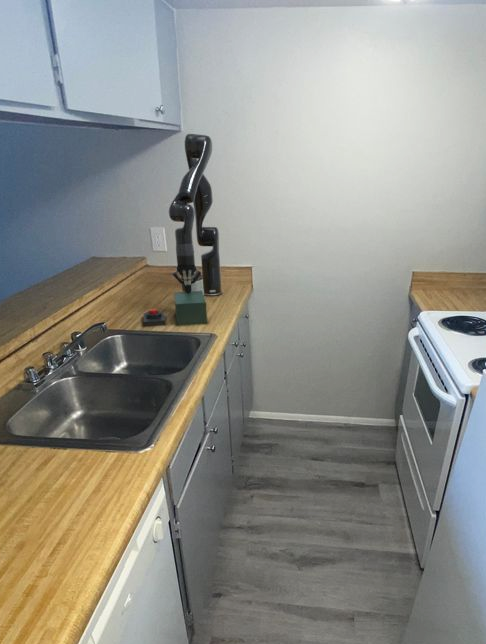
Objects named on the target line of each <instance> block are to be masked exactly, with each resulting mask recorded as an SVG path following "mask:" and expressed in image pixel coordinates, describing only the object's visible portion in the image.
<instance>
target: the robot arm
mask: <svg viewBox="0 0 486 644" xmlns="http://www.w3.org/2000/svg"><path fill="white" fill-rule="evenodd" d="M184 152H185V157H186V162H187V168H188V171H187V172H186V173H185V174H184V176H183V177H182V178H181V182H180V185H179V189H178V192H177V194H176V195H175V197H174V198H173V200H172V202H171V204H170V205H169V209H168V216H169V218H170V220H171V221H173V222H176V223H177V222H178V223H183V226H181V227H177V228H175V232H174V236H175V254H176V264H177V265H176V269H175V271H173V272H172V276H173V277H174V278H175V279H176V280H177V282H178V283H180V285H182V284H184V285H185V292H187V293H190V292H191V291H192V289H191V284H193V283H195V282H196V280H197V279H198V278H199V276H200V275H203V288H204V296H209V297H213V296H219V295H222V279H221V258H220V257H221V256H220V232H219V228H218V227H217V226H203V223H204V221H205V218H206V216H207V215H208V213H209V211H210V209H211V208H212V206H213V202H214V198H213V187H212V185H211V183H210V181H209V180H208V178H207V177H206V175H205V174H204V173H205V170H206V169H207V167H208V164H209V161H210V160H211V156H212V153H213V141H212V138H211V137H210V136H209V135H206V134H196V133H187V134H186V135H185V137H184ZM192 203H193V204H192ZM191 204H192V205H193V206H192V205H191ZM194 222H195V231H196V233H195V234H196V241H197V245H198V246H200V247H212V248H211V249H210V250H209V251H206V252H203V253H202V254H201V255H200V259H201V261H200V262H201V270H199V269H197V267H196V263H195V262H196V261H195V248H194V244H193V243H194V242H193V227H194ZM193 274H196V275H195V276H194V278H193V279H192V280H191V276H193ZM179 275H180V276H179ZM181 276H182V277H183V279H184V281H183V280H182V279H181ZM186 277H188V284H187V279H186Z"/></svg>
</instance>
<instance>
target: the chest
mask: <svg viewBox="0 0 486 644" xmlns="http://www.w3.org/2000/svg"><path fill="white" fill-rule="evenodd" d="M173 298H174V299H175V297H173ZM174 308H175V317H176V322H177V326H191V325H193V326H194V325H205V324H206V325H207V324H208V315H207V303H206V304H196V305H180V306H176V303H175V302H174Z"/></svg>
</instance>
